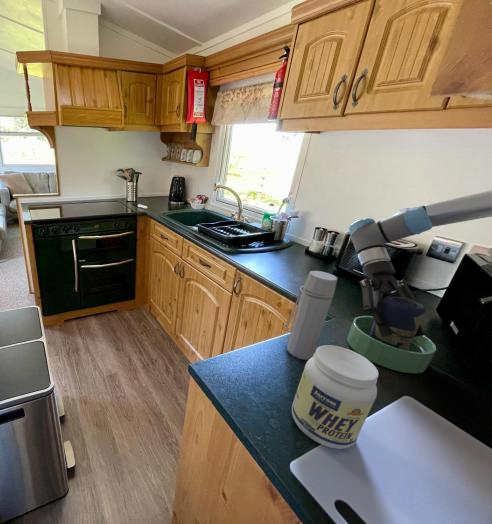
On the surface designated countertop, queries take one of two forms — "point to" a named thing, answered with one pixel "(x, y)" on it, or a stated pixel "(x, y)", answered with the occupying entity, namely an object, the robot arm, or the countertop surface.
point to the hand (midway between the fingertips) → (403, 335)
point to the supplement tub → (335, 396)
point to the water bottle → (310, 314)
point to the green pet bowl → (390, 349)
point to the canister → (399, 321)
